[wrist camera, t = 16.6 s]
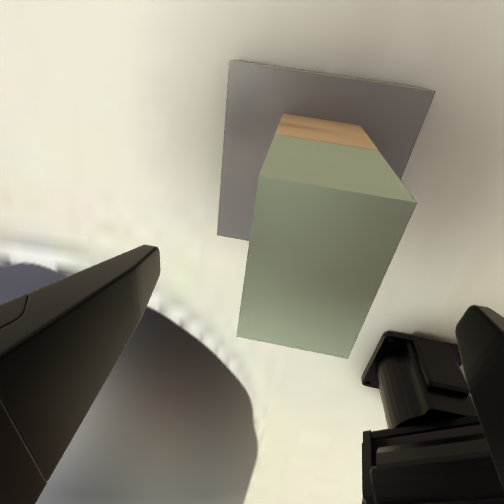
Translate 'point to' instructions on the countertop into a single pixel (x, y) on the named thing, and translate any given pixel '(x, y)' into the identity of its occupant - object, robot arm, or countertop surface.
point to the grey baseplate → (308, 105)
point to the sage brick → (319, 243)
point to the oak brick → (324, 131)
